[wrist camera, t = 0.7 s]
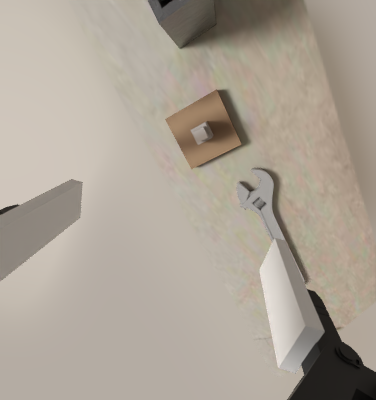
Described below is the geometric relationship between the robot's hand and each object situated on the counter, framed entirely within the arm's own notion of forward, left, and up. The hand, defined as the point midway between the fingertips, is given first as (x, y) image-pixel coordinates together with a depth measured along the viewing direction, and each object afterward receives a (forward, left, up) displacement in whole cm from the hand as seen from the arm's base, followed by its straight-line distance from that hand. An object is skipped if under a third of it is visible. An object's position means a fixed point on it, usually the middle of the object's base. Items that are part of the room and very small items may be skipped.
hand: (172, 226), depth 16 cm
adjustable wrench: (+17, +9, -28) cm, 33 cm away
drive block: (-4, 0, -27) cm, 28 cm away
